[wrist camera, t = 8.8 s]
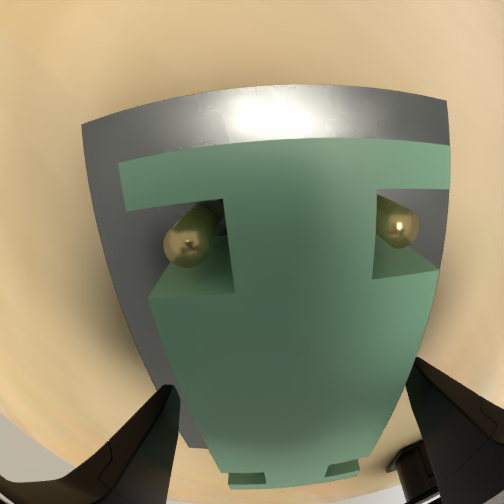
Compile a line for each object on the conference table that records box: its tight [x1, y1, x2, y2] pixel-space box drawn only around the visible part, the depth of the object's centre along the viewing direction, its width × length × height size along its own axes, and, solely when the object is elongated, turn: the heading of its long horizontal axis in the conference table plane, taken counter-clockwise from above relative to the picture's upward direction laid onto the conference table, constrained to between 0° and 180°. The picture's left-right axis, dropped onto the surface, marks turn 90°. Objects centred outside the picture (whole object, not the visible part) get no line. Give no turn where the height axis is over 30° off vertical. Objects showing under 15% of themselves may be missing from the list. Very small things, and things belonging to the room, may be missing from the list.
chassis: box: [81, 84, 450, 475], centre depth 10 cm, size 20×14×5 cm
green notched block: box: [118, 138, 450, 489], centre depth 9 cm, size 16×7×4 cm, turn 5°
